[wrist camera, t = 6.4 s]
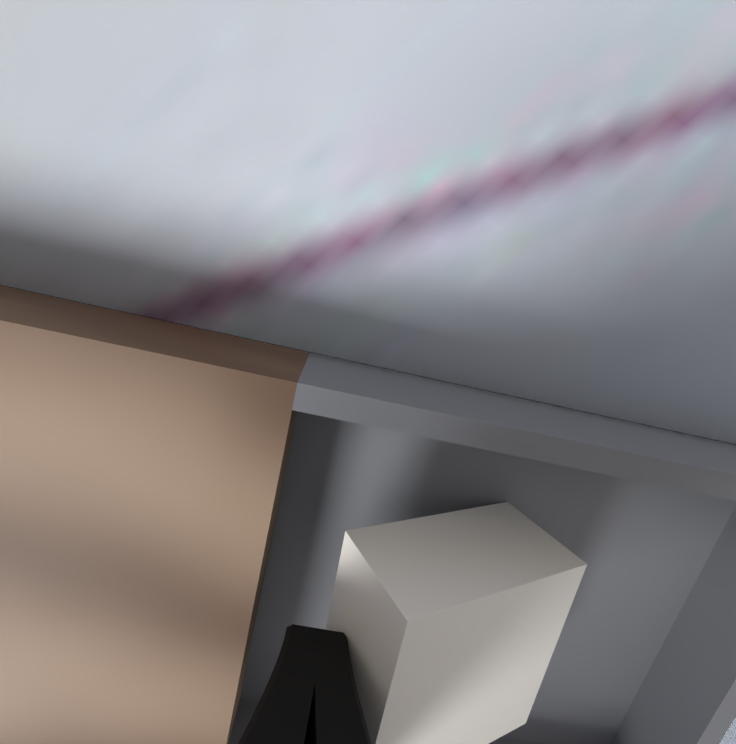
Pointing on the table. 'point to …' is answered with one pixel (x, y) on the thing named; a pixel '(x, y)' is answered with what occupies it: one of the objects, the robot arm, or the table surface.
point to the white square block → (451, 621)
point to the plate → (132, 520)
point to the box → (550, 512)
